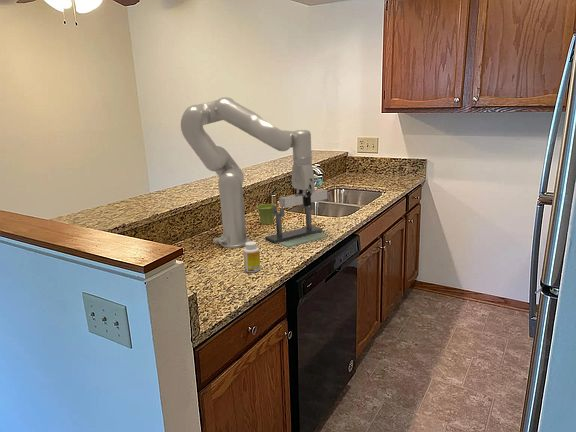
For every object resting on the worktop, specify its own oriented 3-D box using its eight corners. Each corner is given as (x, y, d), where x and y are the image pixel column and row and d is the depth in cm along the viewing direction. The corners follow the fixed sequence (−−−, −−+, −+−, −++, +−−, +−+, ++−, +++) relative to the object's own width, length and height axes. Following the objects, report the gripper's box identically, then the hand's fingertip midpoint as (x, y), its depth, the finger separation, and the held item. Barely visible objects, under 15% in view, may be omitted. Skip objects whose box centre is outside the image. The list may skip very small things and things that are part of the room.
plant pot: (273, 226, 211) (272, 208, 209) (254, 225, 214) (253, 208, 212) (279, 221, 220) (278, 204, 217) (262, 220, 223) (261, 203, 220)
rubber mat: (287, 247, 180) (287, 246, 180) (280, 244, 185) (280, 243, 185) (327, 236, 192) (327, 235, 192) (319, 234, 196) (319, 232, 196)
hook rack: (274, 244, 186) (272, 210, 182) (265, 240, 191) (263, 207, 187) (322, 231, 200) (321, 200, 196) (312, 228, 205) (312, 197, 202)
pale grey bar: (285, 207, 177) (284, 199, 176) (280, 206, 180) (279, 197, 179) (327, 198, 189) (327, 190, 188) (322, 197, 192) (321, 189, 191)
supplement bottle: (263, 269, 158) (262, 242, 156) (252, 274, 155) (250, 246, 152) (253, 266, 162) (251, 239, 160) (241, 270, 158) (239, 243, 156)
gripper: (283, 160, 184) (285, 203, 189) (307, 164, 171) (309, 210, 176) (297, 158, 189) (299, 200, 193) (322, 161, 175) (324, 206, 180)
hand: (304, 204), depth 185 cm, fingers closed on pale grey bar, 3 cm apart
